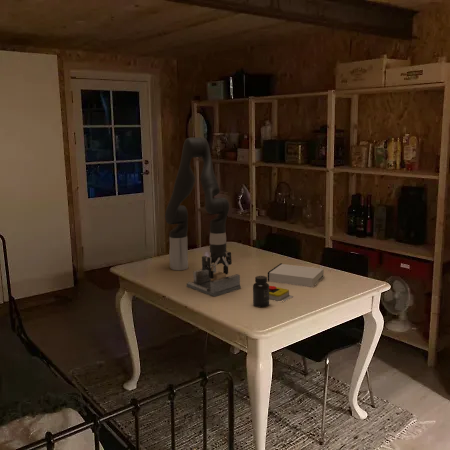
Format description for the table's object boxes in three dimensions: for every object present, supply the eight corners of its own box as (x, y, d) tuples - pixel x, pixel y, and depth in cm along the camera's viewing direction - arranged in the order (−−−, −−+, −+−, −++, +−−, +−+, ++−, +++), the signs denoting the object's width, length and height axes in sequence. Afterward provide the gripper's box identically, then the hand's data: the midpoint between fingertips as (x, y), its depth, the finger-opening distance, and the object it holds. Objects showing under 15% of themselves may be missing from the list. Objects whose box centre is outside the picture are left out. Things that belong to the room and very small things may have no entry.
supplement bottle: (268, 301, 218) (268, 274, 215) (270, 307, 211) (270, 279, 209) (252, 302, 218) (252, 275, 215) (253, 307, 211) (253, 280, 208)
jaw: (193, 283, 238) (192, 258, 236) (213, 278, 246) (212, 253, 243) (196, 284, 236) (195, 259, 234) (216, 279, 244) (215, 254, 242)
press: (186, 286, 239) (186, 273, 238) (212, 279, 250) (212, 266, 248) (214, 297, 224) (214, 282, 223) (240, 288, 235) (240, 275, 234)
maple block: (210, 286, 234) (210, 273, 233) (219, 283, 238) (218, 271, 236) (218, 288, 231) (217, 276, 229) (226, 286, 234) (225, 273, 233)
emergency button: (265, 281, 232) (294, 288, 223) (265, 291, 233) (294, 297, 223) (253, 287, 225) (283, 293, 215) (254, 296, 225) (283, 303, 216)
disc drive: (280, 272, 260) (280, 263, 259) (323, 277, 250) (323, 268, 249) (267, 282, 245) (267, 272, 244) (312, 288, 235) (312, 278, 234)
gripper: (224, 237, 237) (224, 271, 240) (200, 243, 228) (201, 277, 231) (235, 240, 231) (235, 274, 235) (211, 246, 222) (211, 281, 226)
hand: (218, 276), depth 233 cm, fingers open, 8 cm apart
